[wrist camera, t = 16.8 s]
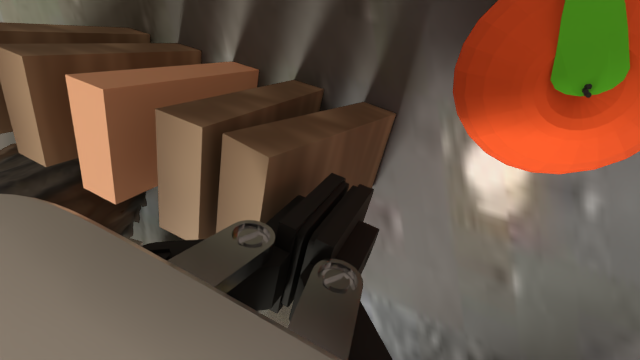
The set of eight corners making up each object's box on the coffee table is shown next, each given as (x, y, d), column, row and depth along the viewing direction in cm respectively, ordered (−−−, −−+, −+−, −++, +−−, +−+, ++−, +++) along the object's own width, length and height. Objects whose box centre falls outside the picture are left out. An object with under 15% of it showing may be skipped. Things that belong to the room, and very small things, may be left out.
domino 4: (324, 89, 19) (202, 127, 10) (307, 164, 21) (198, 246, 13) (294, 79, 19) (155, 108, 11) (281, 154, 22) (159, 226, 13)
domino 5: (396, 113, 17) (269, 157, 9) (370, 192, 20) (251, 279, 12) (363, 101, 18) (222, 132, 10) (342, 178, 20) (214, 251, 13)
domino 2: (201, 50, 21) (21, 56, 13) (199, 122, 23) (46, 167, 15) (177, 43, 22) (-10, 43, 13) (177, 114, 24) (18, 152, 16)
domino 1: (150, 34, 22) (-45, 29, 14) (152, 104, 25) (-13, 136, 16) (128, 27, 23) (-71, 19, 14) (133, 96, 25) (-37, 124, 17)
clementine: (450, -21, 14) (435, -65, 8) (661, -81, 11) (871, -218, 5) (459, 150, 17) (453, 209, 11) (634, 138, 14) (758, 211, 8)
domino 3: (227, 134, 23) (83, 187, 14) (232, 61, 20) (65, 74, 12) (250, 143, 22) (115, 204, 14) (259, 69, 20) (102, 89, 12)
